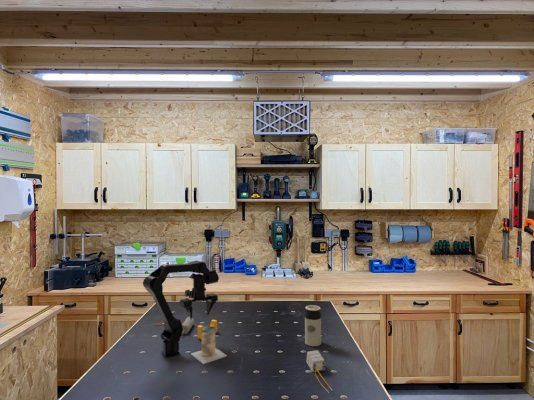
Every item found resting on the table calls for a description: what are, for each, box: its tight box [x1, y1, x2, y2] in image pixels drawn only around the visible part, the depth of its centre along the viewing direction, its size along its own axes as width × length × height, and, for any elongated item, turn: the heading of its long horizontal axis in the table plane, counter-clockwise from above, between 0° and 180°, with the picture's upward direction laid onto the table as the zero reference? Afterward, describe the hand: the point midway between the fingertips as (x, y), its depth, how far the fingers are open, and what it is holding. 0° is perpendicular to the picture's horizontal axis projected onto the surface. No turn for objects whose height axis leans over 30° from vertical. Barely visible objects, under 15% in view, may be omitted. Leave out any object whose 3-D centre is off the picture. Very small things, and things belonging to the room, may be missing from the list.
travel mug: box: [304, 304, 322, 347], centre depth 172 cm, size 8×8×18 cm
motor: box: [153, 316, 195, 335], centre depth 191 cm, size 23×22×5 cm
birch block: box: [201, 325, 216, 357], centre depth 159 cm, size 5×5×12 cm
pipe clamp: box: [197, 319, 218, 341], centre depth 183 cm, size 12×4×6 cm, turn 145°
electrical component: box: [305, 349, 333, 394], centre depth 140 cm, size 24×6×5 cm, turn 15°
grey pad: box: [190, 347, 227, 365], centre depth 159 cm, size 12×12×1 cm
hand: (199, 317), depth 173 cm, fingers open, 9 cm apart
